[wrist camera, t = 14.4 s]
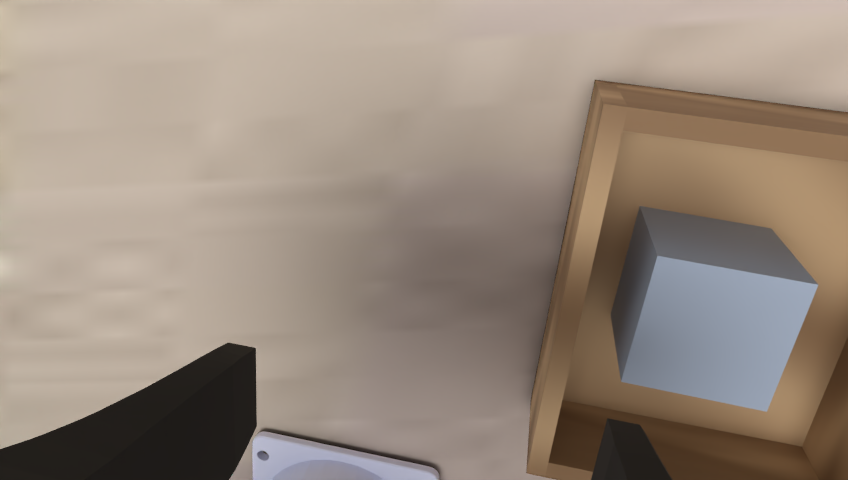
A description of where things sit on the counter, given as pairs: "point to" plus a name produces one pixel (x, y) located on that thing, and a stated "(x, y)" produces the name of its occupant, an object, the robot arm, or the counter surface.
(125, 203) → the counter surface
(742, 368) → the block
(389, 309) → the counter surface
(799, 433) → the wooden box
